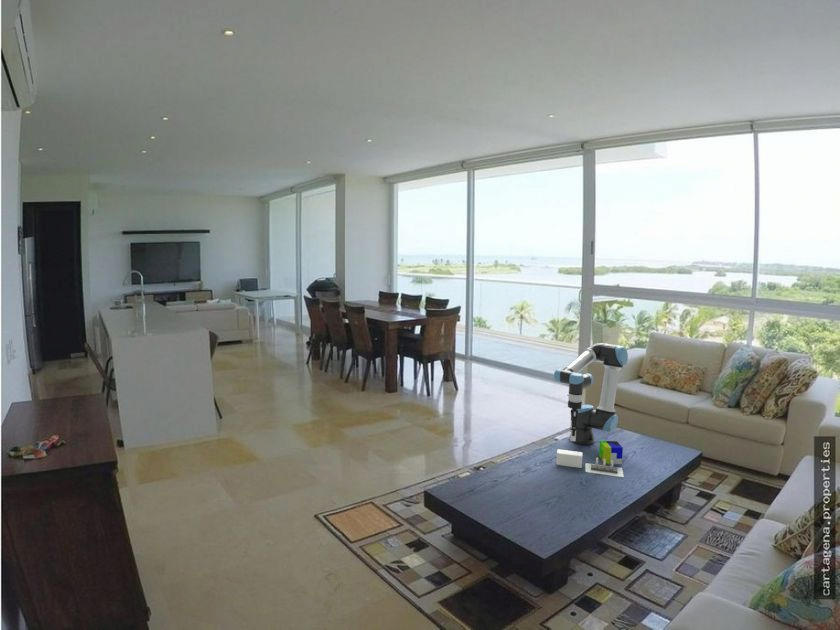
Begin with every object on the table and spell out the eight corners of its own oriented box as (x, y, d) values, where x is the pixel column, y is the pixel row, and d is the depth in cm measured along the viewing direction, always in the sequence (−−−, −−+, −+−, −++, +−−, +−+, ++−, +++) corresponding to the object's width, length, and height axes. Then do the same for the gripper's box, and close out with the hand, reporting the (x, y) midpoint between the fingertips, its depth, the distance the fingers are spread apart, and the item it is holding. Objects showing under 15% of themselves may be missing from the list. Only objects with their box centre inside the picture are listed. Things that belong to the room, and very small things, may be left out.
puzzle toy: (621, 464, 304) (622, 447, 302) (604, 463, 304) (605, 447, 302) (615, 457, 313) (616, 441, 312) (598, 456, 314) (600, 440, 312)
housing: (556, 464, 301) (557, 453, 300) (556, 460, 307) (557, 449, 306) (581, 468, 297) (582, 456, 296) (581, 463, 303) (582, 452, 302)
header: (585, 463, 303) (586, 452, 302) (622, 468, 297) (622, 457, 296) (585, 472, 292) (586, 461, 291) (623, 477, 286) (624, 466, 285)
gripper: (567, 394, 309) (565, 428, 312) (568, 406, 285) (566, 443, 288) (581, 395, 307) (578, 429, 310) (582, 408, 283) (580, 445, 286)
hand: (572, 436), depth 299 cm, fingers open, 13 cm apart
